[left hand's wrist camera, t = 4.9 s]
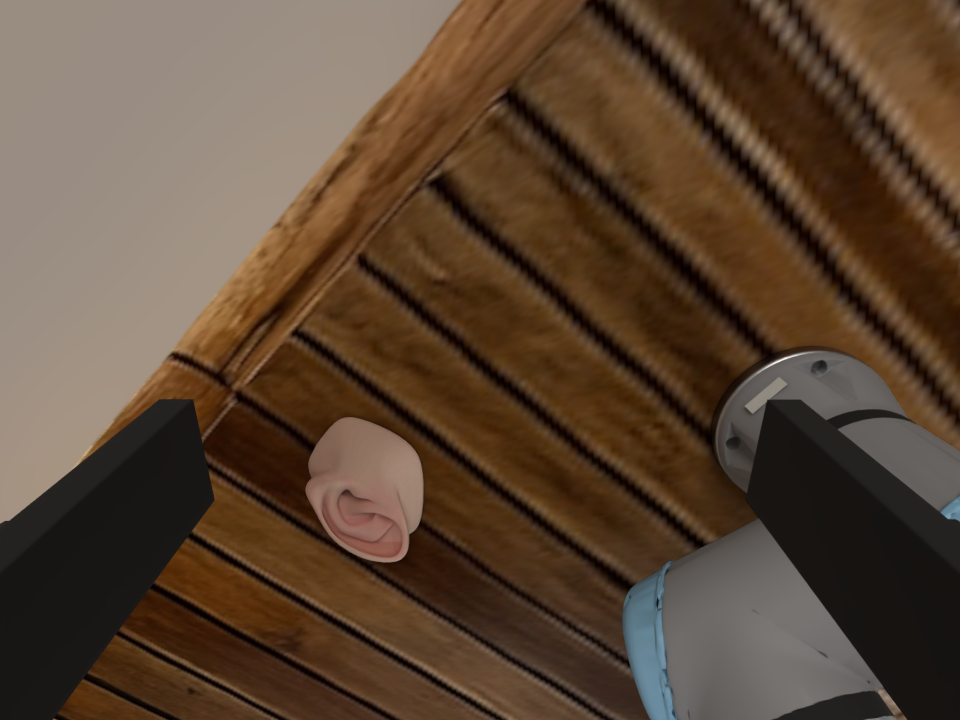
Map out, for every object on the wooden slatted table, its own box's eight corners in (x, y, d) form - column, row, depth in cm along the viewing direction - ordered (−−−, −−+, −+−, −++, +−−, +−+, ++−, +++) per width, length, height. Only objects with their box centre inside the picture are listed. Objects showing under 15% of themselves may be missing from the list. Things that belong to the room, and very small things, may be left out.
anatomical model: (302, 430, 47) (435, 455, 47) (315, 409, 50) (438, 432, 51) (289, 553, 51) (410, 573, 52) (301, 525, 55) (415, 544, 56)
